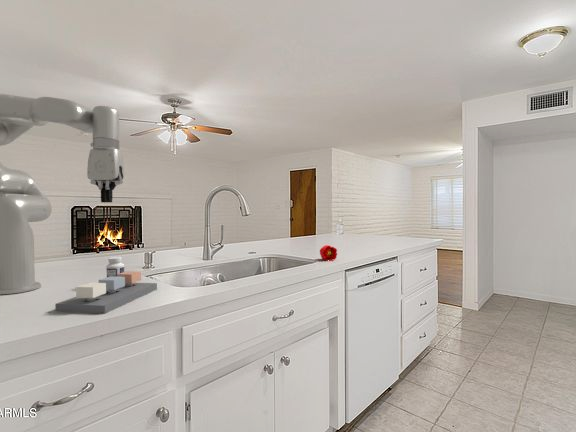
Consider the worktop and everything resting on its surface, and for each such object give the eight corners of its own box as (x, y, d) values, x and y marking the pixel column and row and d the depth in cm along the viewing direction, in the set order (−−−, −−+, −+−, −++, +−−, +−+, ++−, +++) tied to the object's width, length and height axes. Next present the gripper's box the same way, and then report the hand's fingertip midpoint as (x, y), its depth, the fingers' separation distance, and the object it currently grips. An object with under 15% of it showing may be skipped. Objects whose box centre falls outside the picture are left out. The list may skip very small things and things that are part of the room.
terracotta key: (117, 289, 97) (117, 274, 97) (127, 285, 102) (127, 271, 102) (131, 289, 97) (131, 274, 97) (141, 286, 101) (140, 271, 101)
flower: (333, 248, 165) (340, 249, 158) (328, 261, 165) (334, 263, 157) (321, 242, 164) (326, 243, 156) (315, 256, 163) (321, 258, 155)
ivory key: (76, 305, 81) (76, 286, 81) (90, 299, 86) (90, 282, 86) (93, 305, 81) (92, 287, 81) (106, 300, 86) (105, 283, 86)
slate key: (98, 296, 89) (98, 279, 89) (110, 292, 94) (110, 276, 94) (114, 297, 89) (113, 280, 89) (125, 292, 94) (124, 276, 93)
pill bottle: (120, 283, 111) (120, 256, 111) (127, 285, 108) (126, 257, 108) (104, 286, 107) (103, 257, 107) (110, 288, 104) (110, 259, 104)
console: (55, 311, 81) (55, 303, 80) (117, 288, 104) (117, 282, 104) (105, 313, 79) (104, 305, 79) (157, 289, 102) (156, 283, 102)
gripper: (76, 144, 99) (76, 202, 99) (119, 143, 97) (120, 202, 97) (94, 148, 106) (94, 202, 107) (134, 147, 104) (134, 202, 105)
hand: (106, 202), depth 102 cm, fingers closed
